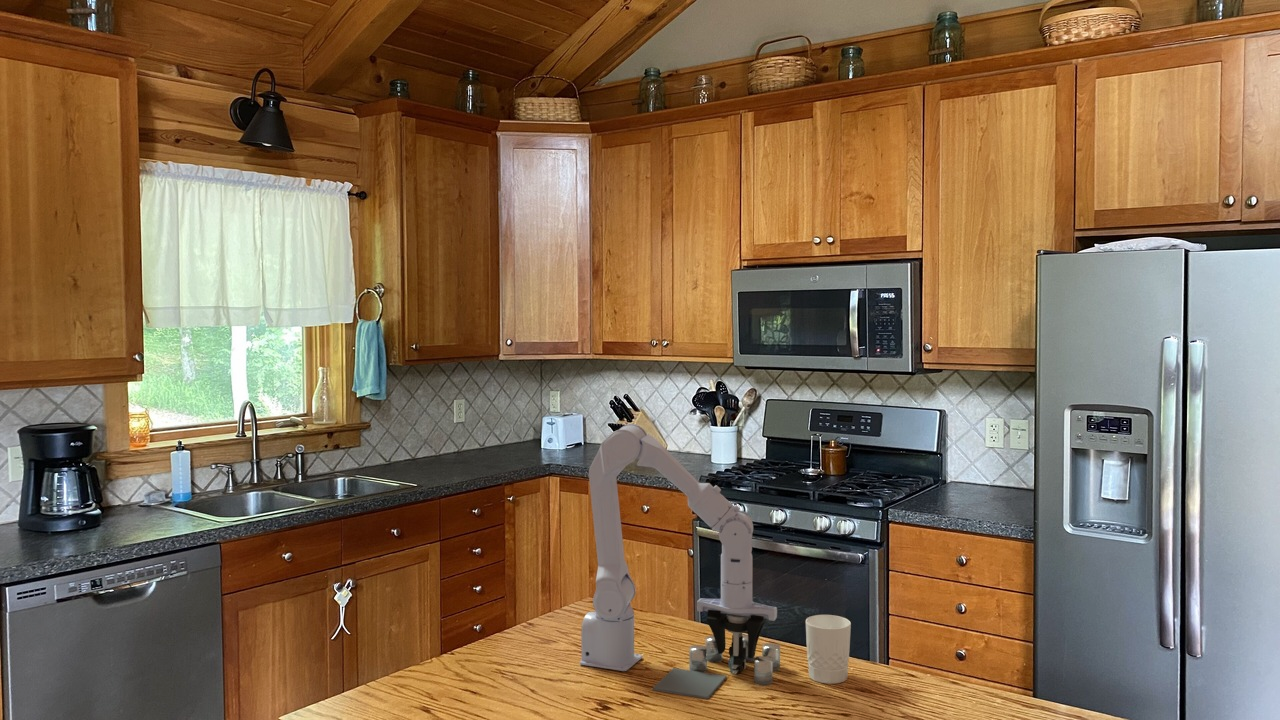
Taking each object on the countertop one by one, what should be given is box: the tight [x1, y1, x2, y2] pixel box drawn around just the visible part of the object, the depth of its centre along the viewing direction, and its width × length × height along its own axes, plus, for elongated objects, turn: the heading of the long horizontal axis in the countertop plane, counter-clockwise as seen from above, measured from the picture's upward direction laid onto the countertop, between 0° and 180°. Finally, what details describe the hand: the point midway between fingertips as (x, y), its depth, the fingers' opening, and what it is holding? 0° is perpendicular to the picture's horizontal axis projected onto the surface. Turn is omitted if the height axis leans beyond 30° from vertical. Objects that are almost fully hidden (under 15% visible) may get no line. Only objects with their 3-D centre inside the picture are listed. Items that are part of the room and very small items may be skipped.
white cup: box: [805, 614, 852, 685], centre depth 169 cm, size 8×8×10 cm
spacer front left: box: [688, 644, 708, 673], centre depth 173 cm, size 3×3×4 cm
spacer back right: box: [761, 642, 781, 672], centre depth 174 cm, size 3×3×4 cm
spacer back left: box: [704, 634, 724, 664], centre depth 178 cm, size 3×3×4 cm
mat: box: [652, 667, 727, 700], centre depth 166 cm, size 10×10×1 cm
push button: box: [723, 614, 751, 675], centre depth 173 cm, size 7×5×10 cm
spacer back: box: [742, 634, 756, 663], centre depth 178 cm, size 3×3×4 cm
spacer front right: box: [753, 655, 774, 686], centre depth 167 cm, size 3×3×4 cm
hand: (736, 654), depth 173 cm, fingers closed on push button, 5 cm apart
